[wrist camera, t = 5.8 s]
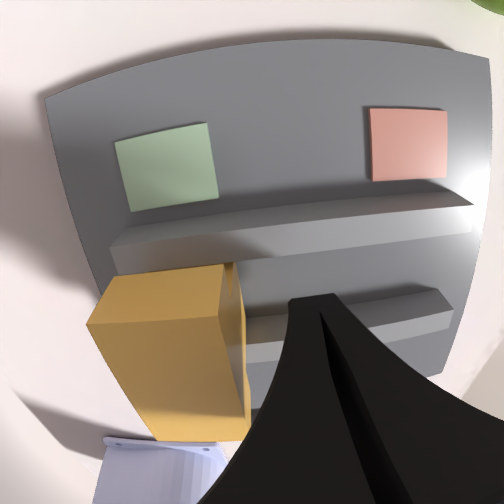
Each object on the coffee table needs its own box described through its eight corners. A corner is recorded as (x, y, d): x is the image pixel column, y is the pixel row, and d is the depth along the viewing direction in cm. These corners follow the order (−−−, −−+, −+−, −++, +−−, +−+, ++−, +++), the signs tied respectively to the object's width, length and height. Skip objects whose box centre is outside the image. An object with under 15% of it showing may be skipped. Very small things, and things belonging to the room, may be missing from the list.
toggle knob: (177, 343, 13) (157, 440, 8) (141, 234, 10) (85, 324, 6) (249, 338, 13) (251, 440, 8) (229, 221, 10) (217, 315, 6)
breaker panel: (183, 426, 19) (178, 464, 16) (65, 96, 10) (19, 102, 7) (417, 395, 18) (431, 428, 15) (466, 59, 9) (514, 59, 6)
